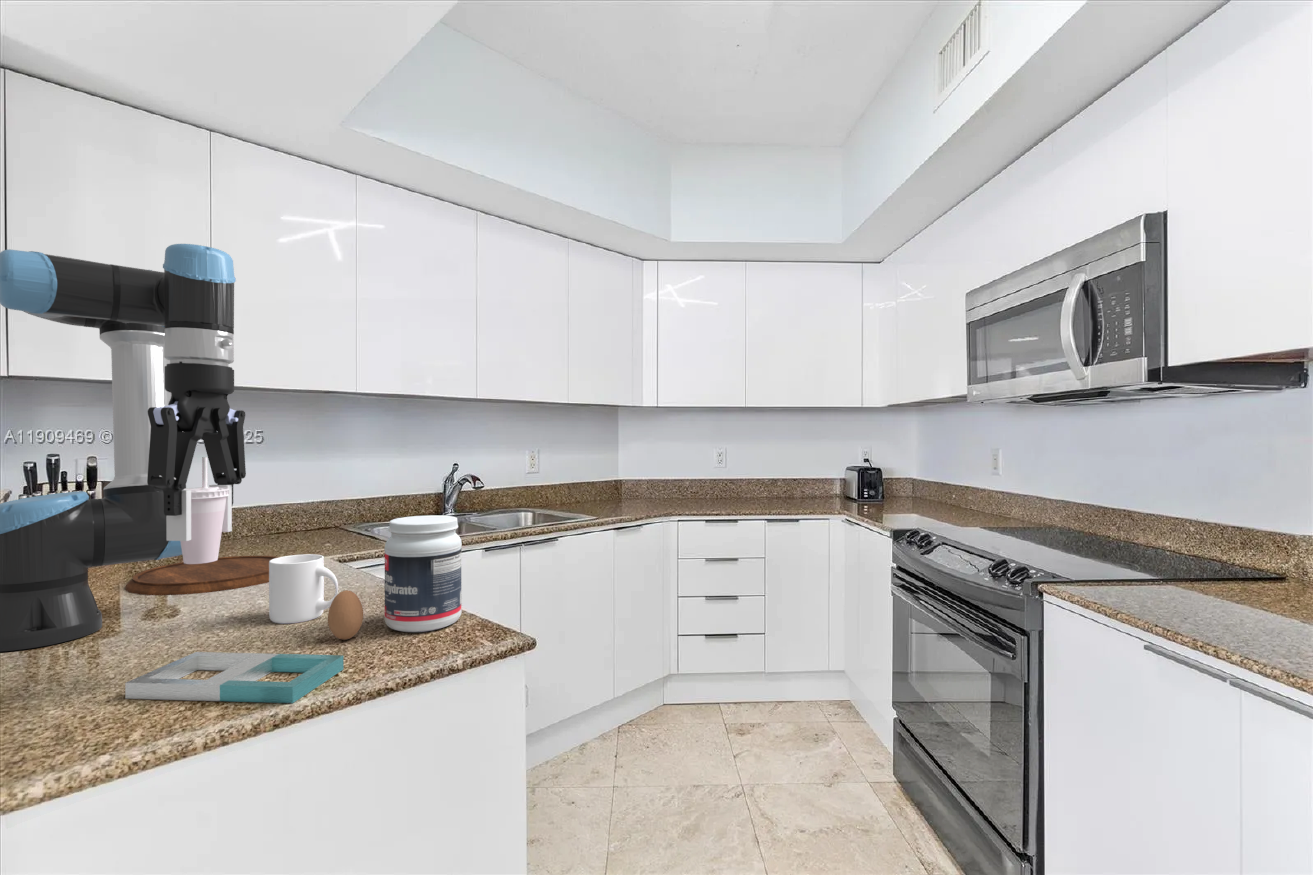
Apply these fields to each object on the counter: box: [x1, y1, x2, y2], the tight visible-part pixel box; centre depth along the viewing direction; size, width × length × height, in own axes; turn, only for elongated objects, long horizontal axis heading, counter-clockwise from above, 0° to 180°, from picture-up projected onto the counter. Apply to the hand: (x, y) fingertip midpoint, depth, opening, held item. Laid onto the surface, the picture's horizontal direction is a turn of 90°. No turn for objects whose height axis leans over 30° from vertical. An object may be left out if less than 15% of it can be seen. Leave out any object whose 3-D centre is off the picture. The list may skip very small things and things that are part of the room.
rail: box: [124, 651, 345, 704], centre depth 82 cm, size 22×11×2 cm, turn 86°
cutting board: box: [125, 555, 280, 596], centre depth 143 cm, size 32×32×3 cm
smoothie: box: [180, 456, 229, 564], centre depth 83 cm, size 6×6×14 cm
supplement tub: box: [384, 514, 463, 633], centre depth 108 cm, size 13×13×18 cm
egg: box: [327, 589, 364, 641], centre depth 100 cm, size 5×5×8 cm
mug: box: [268, 553, 339, 625], centre depth 112 cm, size 9×12×11 cm
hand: (200, 535), depth 83 cm, fingers closed on smoothie, 6 cm apart
